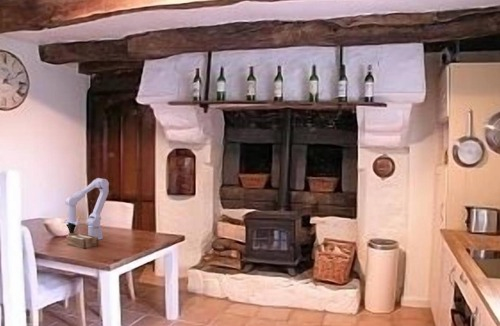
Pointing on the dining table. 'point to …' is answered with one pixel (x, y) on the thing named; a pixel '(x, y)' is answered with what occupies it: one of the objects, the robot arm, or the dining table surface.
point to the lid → (78, 236)
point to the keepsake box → (83, 242)
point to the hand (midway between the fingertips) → (71, 234)
